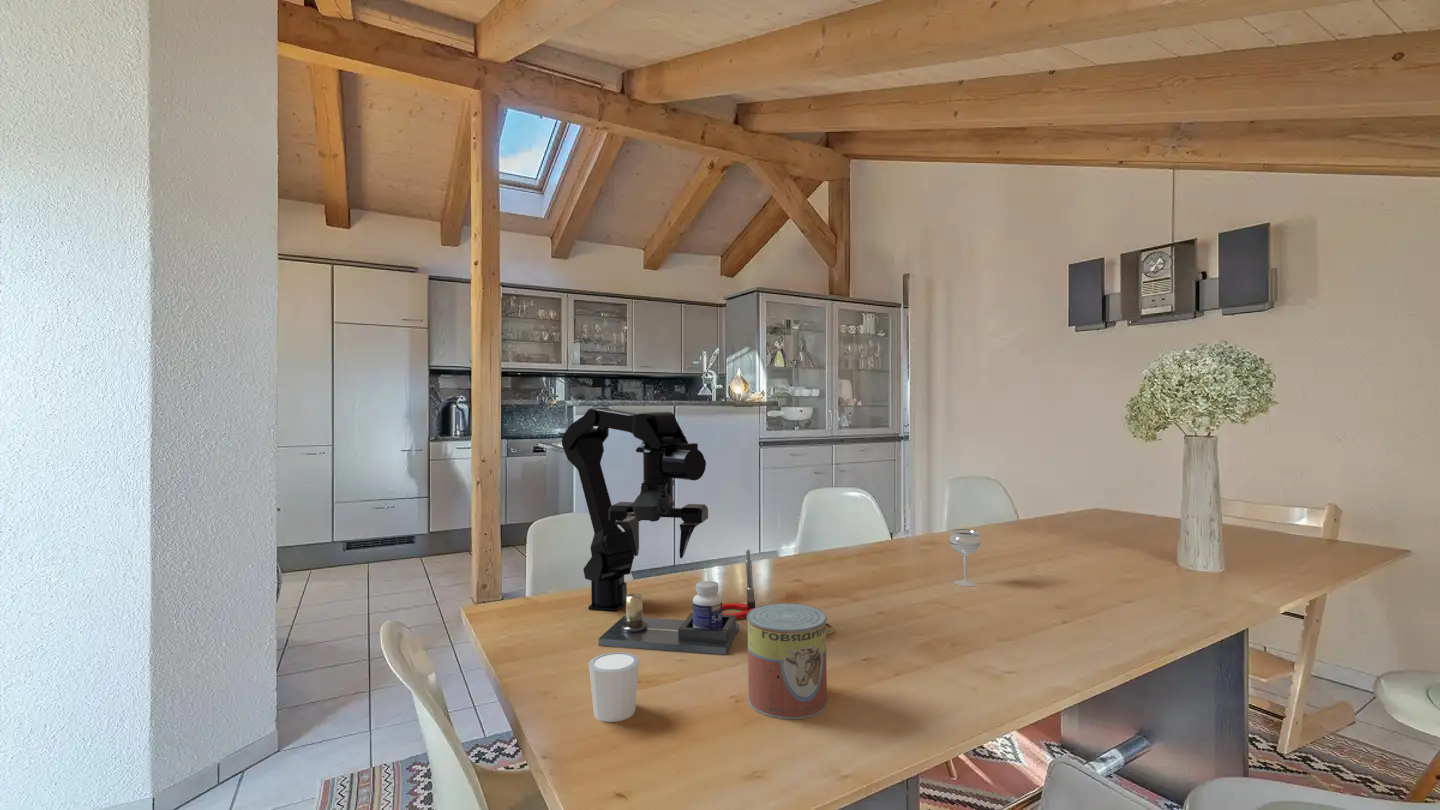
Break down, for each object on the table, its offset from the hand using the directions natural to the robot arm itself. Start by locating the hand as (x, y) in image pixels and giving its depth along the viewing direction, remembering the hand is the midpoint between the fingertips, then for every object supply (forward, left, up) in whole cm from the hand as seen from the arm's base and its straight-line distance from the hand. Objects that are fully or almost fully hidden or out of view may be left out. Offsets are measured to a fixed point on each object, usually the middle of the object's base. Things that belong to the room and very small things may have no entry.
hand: (658, 556), depth 121 cm
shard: (+28, +2, -14) cm, 31 cm away
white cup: (+5, -35, -13) cm, 38 cm away
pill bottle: (+11, -7, -12) cm, 18 cm away
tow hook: (+13, +8, -13) cm, 20 cm away
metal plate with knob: (+4, -7, -13) cm, 15 cm away
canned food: (+28, -27, -13) cm, 41 cm away
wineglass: (+62, +38, -13) cm, 74 cm away
